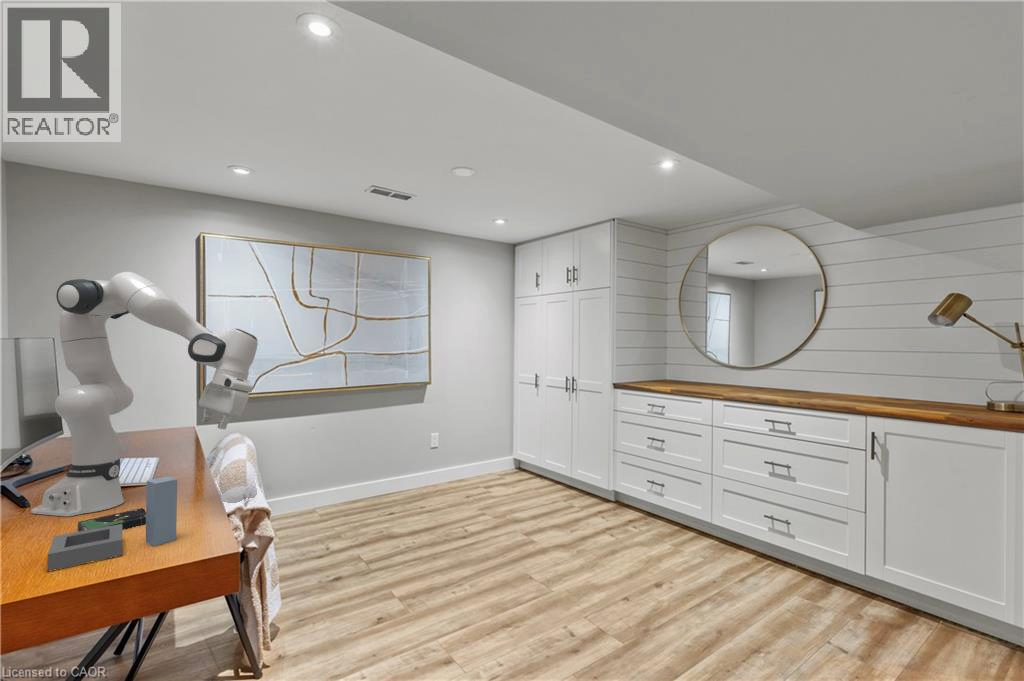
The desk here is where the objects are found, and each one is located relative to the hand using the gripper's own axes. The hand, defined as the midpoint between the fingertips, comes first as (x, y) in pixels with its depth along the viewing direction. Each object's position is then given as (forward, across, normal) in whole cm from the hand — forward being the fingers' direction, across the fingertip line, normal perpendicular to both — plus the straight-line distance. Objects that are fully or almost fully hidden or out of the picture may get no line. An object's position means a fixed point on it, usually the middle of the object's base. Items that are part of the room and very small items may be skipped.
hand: (213, 426), depth 142 cm
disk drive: (+33, -12, -10) cm, 36 cm away
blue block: (+30, +10, -8) cm, 32 cm away
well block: (+34, +4, -21) cm, 40 cm away
